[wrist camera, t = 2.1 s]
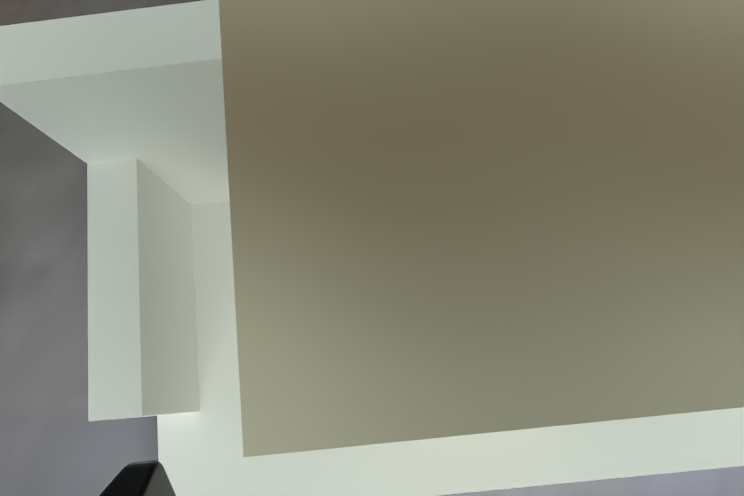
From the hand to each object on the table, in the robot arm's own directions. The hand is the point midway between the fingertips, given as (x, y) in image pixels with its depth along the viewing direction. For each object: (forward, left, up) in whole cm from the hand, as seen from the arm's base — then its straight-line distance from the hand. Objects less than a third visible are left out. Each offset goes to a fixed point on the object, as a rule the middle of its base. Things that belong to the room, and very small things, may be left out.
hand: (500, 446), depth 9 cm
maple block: (+3, 0, -9) cm, 10 cm away
